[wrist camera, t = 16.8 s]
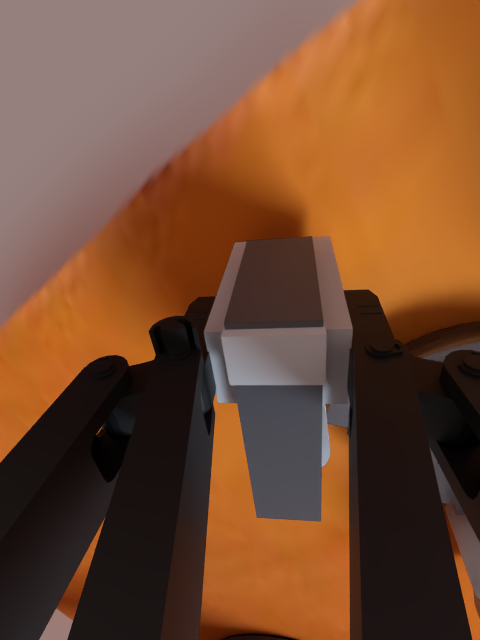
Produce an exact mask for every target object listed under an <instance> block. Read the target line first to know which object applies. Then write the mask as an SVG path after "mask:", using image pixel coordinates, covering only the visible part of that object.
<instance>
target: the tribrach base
mask: <svg viewBox="0 0 480 640" xmlns="http://www.w3.org/2000/svg"><path fill="white" fill-rule="evenodd" d="M405 346H406V348H407V350H408V352H409V354H411V355H414V356H416V357H420V358H424V359H428V360H434V361H439V362H444V359H445V356H446V355H448V354H449V353H451V352H453V351H457V350H474V351H478V352H480V322H474V323H468V324H462V325H457V326H453V327H449V328H445V329H441V330H438V331H436V332H433V333H430V334H427V335H424V336H422V337H420V338H418V339H416V340H414V341H412V342H410V343H408V344H406V345H405ZM325 406H326V415H327V424H331V425H336V426H341V427H346V428H348V420H349V407H350V402H349V396H348V401H347V404H325ZM430 451H431V456H432V460H433V465H434V469H435V474H436V478H437V483H438V487H439V492H440V496H441V501H442V503H446V504H452V506H453V508H454V511H455V514H456V515H465V513H464V512H463V510H462V508H461V506H460V504H459V502H458V500H457V498H456V496H455V494H454V492H453V491H452V489H451V487H450V485H449V483H448V481H447V479H446V477H445V475H444V473H443V471H442V470H441V468H440V466H439V464H438V462H437V460H436V458H435V456H434V454H433V452H432V450H431V449H430Z"/></svg>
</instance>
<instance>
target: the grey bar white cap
mask: <svg viewBox="0 0 480 640" xmlns="http://www.w3.org/2000/svg"><path fill="white" fill-rule="evenodd" d="M326 336H327V334H326V327H325V325H323V313H322V305H321V298H320V291H319V283H318V276H317V268H316V261H315V253H314V246H313V238H312V236H309V237H295V238H280V239H266V240H251V241H247V242H246V245H245V249H244V253H243V256H242V260H241V263H240V267H239V270H238V274H237V278H236V281H235V285H234V288H233V292H232V295H231V299H230V302H229V306H228V310H227V313H226V317H225V320H224V328H223V331H222V335H221V340H222V346H223V351H224V357H225V362H226V368H227V374H228V379H229V385H234V386H235V392H236V398H237V404H238V410H239V416H240V422H241V427H242V433H243V439H244V445H245V451H246V457H247V463H248V469H249V474H250V480H251V486H252V492H253V498H254V504H255V510H256V515H257V518H271V519H288V520H304V521H321V479H322V467H323V466H324V465H325V464H326V463H327V461H328V459H329V457H330V444H329V434H328V425H327V415H326V406H325V404H322V397H323V385H326Z"/></svg>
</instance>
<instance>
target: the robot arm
mask: <svg viewBox="0 0 480 640" xmlns="http://www.w3.org/2000/svg"><path fill="white" fill-rule="evenodd" d="M312 238H313V246H314V253H315V261H316V268H317V276H318V283H319V291H320V298H321V305H322V313H323V325H325V327H326V334H327V336H326V385H323V397H322V404H347V401H348V396H349V402H350V407H349V420H348V432H347V434H349V539H350V640H472V636H471V632H470V627H469V623H468V618H467V614H466V609H465V604H464V600H463V595H462V591H461V586H460V582H459V577H458V573H457V568H456V564H455V559H454V555H453V550H452V546H451V541H450V537H449V532H448V528H447V523H446V519H445V514H444V510H443V505H442V501H441V496H440V492H439V487H438V483H437V478H436V474H435V469H434V465H433V460H432V456H431V451H430V449H431V450H432V452H433V454H434V456H435V458H436V460H437V462H438V464H439V466H440V468H441V470H442V471H443V473H444V475H445V477H446V479H447V481H448V483H449V485H450V487H451V489H452V491H453V492H454V494H455V496H456V498H457V500H458V502H459V504H460V506H461V508H462V510H463V512H464V513H465V515H466V517H467V519H468V521H469V523H470V525H471V527H472V529H473V531H474V533H475V534H476V536H477V538H478V540H479V542H480V352H478V351H474V350H457V351H453V352H451V353H449V354H448V355H446V356H445V359H444V362H439V361H434V360H428V359H424V358H420V357H416V356H414V355H411V354H409V352H408V350H407V348H406V346H405V345H404V344H403V343H401V342H400V341H399V340H397V339H394V337H393V334H392V332H391V329H390V327H389V324H388V322H387V319H386V317H385V315H384V312H383V309H382V307H381V304H380V301H379V299H378V297H377V296H376V295H375V294H373V293H372V292H371V291H370V290H343V287H342V283H341V279H340V275H339V271H338V267H337V263H336V259H335V255H334V251H333V247H332V243H331V239H330V236H327V237H312ZM245 245H246V242H235V244H234V247H233V249H232V252H231V255H230V258H229V261H228V264H227V267H226V269H225V272H224V275H223V278H222V281H221V284H220V287H219V290H218V292H217V295H216V296H214V297H198V298H197V299H196V300H195V301H193V302H192V303H191V304H190V305H189V307H188V310H187V312H186V314H185V316H173V317H168V318H165V319H163V320H160V321H158V322H157V323H156V324H154V325H153V326H152V327H151V328H150V330H149V334H150V337H151V341H152V344H153V347H154V350H155V354H156V356H155V359H154V360H152V361H149V362H145V363H141V364H137V365H132V366H129V365H128V362H127V360H126V359H125V358H124V357H121V356H117V355H111V356H105V357H101V358H98V359H97V360H95V361H93V362H91V363H89V364H88V365H87V366H86V367H85V368H84V369H83V370H82V371H81V372H80V373H79V374H78V375H77V377H76V378H75V379H74V380H73V381H72V382H71V383H70V385H69V386H68V387H67V388H66V389H65V390H64V391H63V392H62V394H61V395H60V396H59V397H58V398H57V399H56V400H55V402H54V403H53V404H52V405H51V406H50V407H49V408H48V409H47V411H46V412H45V413H44V414H43V415H42V416H41V417H40V418H39V420H38V421H37V422H36V423H35V424H34V425H33V426H32V428H31V429H30V430H29V431H28V432H27V433H26V434H25V435H24V437H23V438H22V439H21V440H20V441H19V442H18V443H17V445H16V446H15V447H14V448H13V449H12V450H11V451H10V452H9V454H8V455H7V456H6V457H5V458H4V459H3V460H2V462H1V463H0V640H39V639H40V637H41V635H42V633H43V631H44V630H45V628H46V626H47V624H48V622H49V620H50V618H51V616H52V615H53V613H54V611H55V609H56V607H57V605H58V604H59V602H60V600H61V598H62V596H63V594H64V592H65V591H66V589H67V587H68V585H69V583H70V581H71V579H72V578H73V576H74V574H75V572H76V570H77V568H78V566H79V565H80V563H81V561H82V559H83V557H84V555H85V553H86V552H87V550H88V548H89V546H90V544H91V542H92V540H93V539H94V537H95V535H96V533H97V531H98V529H99V527H100V526H101V524H102V522H103V520H104V518H105V520H104V523H103V527H102V530H101V533H100V536H99V539H98V543H97V546H96V549H95V552H94V556H93V559H92V562H91V565H90V568H89V572H88V575H87V578H86V581H85V585H84V588H83V591H82V594H81V597H80V601H79V604H78V607H77V610H76V614H75V617H74V620H73V623H72V627H71V630H70V633H69V637H68V640H199V632H200V618H201V604H202V590H203V576H204V563H205V549H206V535H207V521H208V507H209V493H210V479H211V465H212V451H213V437H214V423H215V411H214V406H213V400H214V396H215V392H216V395H217V400H218V403H237V398H236V392H235V386H234V385H229V379H228V374H227V368H226V362H225V357H224V351H223V346H222V340H221V335H222V331H223V328H224V320H225V317H226V313H227V310H228V306H229V302H230V299H231V295H232V292H233V288H234V285H235V281H236V278H237V274H238V270H239V267H240V263H241V260H242V256H243V253H244V249H245ZM101 427H102V429H101V430H100V428H101ZM99 430H100V432H99V433H98V431H99ZM97 433H98V434H97ZM96 434H97V435H96ZM105 516H106V517H105ZM224 640H287V639H282V638H277V637H269V636H255V635H248V636H236V637H230V638H227V639H224Z"/></svg>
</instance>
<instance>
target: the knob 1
mask: <svg viewBox="0 0 480 640" xmlns="http://www.w3.org/2000/svg"><path fill="white" fill-rule="evenodd" d="M445 511H446V514H447V517H448V520H449V523H450V525H451V528H452V531H453V534H454V536H455V539H456V542H457V545H458V548H459V550H460V553H461V556H462V559H463V562H464V564H465V567H466V570H467V573H468V576H469V578H470V581H471V584H472V587H473V592H474V602H475V607H476V609H477V612H478V615H479V618H480V542H479V540H478V538H477V536H476V534H475V533H474V531H473V529H472V527H471V525H470V523H469V521H468V519H467V517H466V515H456V514H455V511H454V508H453V506H452V504H446V506H445Z"/></svg>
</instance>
